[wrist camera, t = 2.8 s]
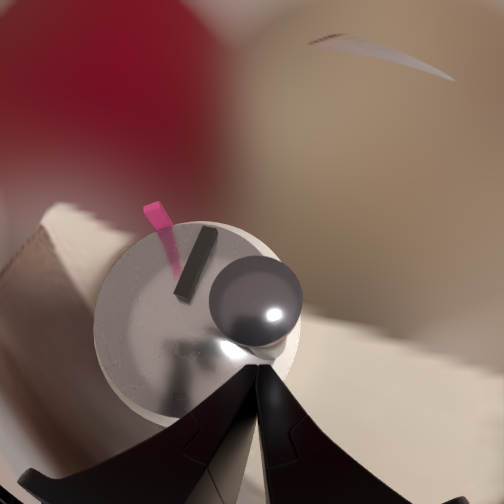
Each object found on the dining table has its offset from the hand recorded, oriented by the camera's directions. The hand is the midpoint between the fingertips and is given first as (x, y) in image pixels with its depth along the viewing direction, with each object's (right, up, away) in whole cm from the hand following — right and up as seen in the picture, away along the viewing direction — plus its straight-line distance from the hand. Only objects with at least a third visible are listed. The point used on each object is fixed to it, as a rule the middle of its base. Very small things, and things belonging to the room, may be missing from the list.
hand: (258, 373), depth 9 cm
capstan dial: (-4, 0, +8) cm, 9 cm away
